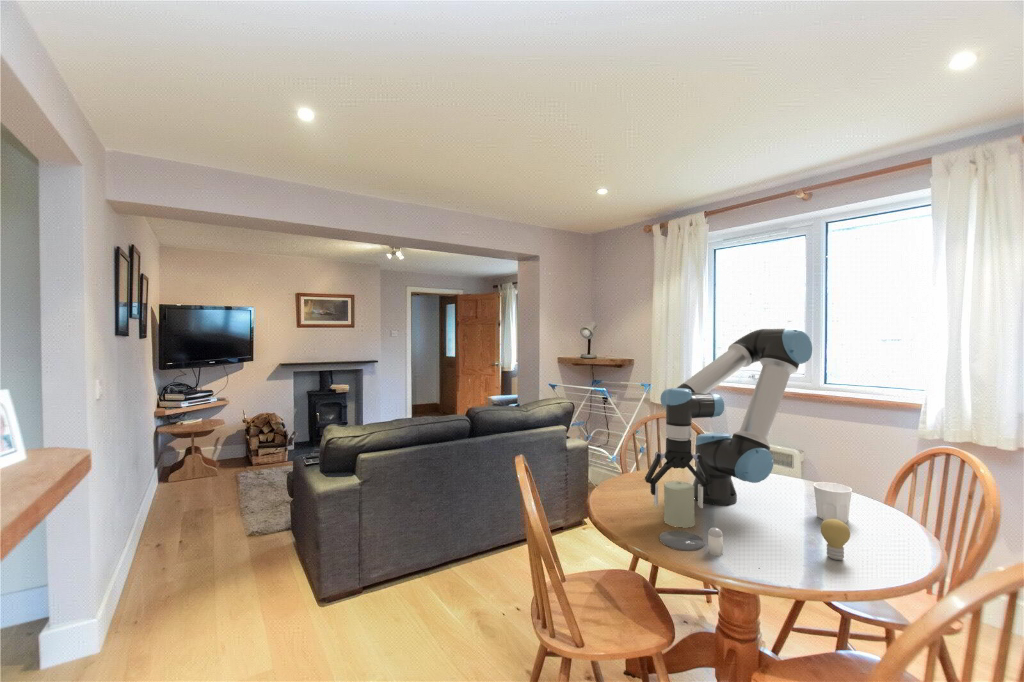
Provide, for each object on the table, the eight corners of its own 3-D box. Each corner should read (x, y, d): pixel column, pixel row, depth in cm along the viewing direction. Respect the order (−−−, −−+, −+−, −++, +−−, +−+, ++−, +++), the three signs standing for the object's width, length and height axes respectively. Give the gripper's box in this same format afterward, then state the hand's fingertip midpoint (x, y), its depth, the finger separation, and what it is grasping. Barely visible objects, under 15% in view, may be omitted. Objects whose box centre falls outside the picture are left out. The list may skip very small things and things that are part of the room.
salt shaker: (719, 550, 129) (719, 525, 129) (724, 556, 125) (724, 530, 125) (706, 549, 129) (706, 525, 129) (710, 556, 126) (710, 530, 126)
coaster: (696, 532, 140) (696, 530, 140) (710, 551, 128) (710, 549, 128) (655, 531, 141) (655, 529, 141) (665, 550, 129) (665, 547, 129)
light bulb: (814, 553, 127) (814, 515, 127) (837, 551, 127) (837, 514, 127) (833, 564, 120) (832, 525, 120) (856, 563, 121) (856, 524, 121)
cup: (854, 517, 151) (854, 486, 151) (849, 527, 143) (849, 494, 143) (817, 509, 158) (817, 480, 157) (810, 518, 150) (810, 487, 150)
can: (694, 518, 151) (694, 481, 151) (695, 529, 143) (695, 490, 143) (664, 515, 154) (663, 478, 154) (663, 526, 146) (663, 487, 146)
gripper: (715, 436, 151) (715, 502, 151) (635, 434, 153) (635, 500, 153) (724, 441, 144) (723, 511, 144) (640, 439, 146) (639, 508, 146)
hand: (678, 505), depth 148 cm, fingers open, 13 cm apart
